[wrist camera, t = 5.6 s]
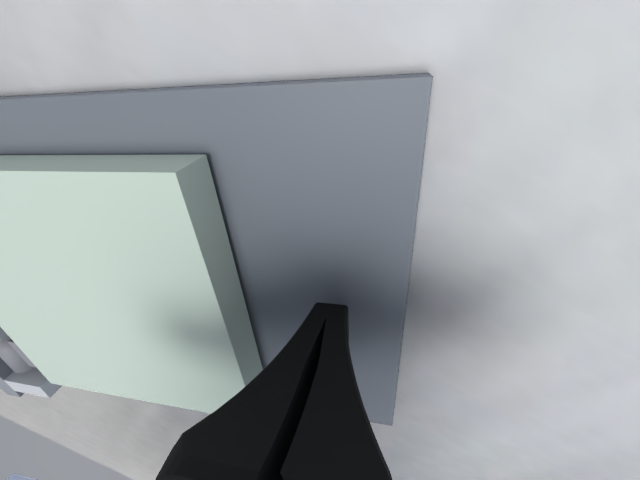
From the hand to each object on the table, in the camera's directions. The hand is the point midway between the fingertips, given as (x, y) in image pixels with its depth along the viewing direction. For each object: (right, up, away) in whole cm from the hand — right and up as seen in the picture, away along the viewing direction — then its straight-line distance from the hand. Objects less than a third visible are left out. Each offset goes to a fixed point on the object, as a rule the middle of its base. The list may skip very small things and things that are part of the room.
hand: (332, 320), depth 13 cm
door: (-12, +1, +3) cm, 13 cm away
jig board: (-9, +2, +4) cm, 10 cm away
